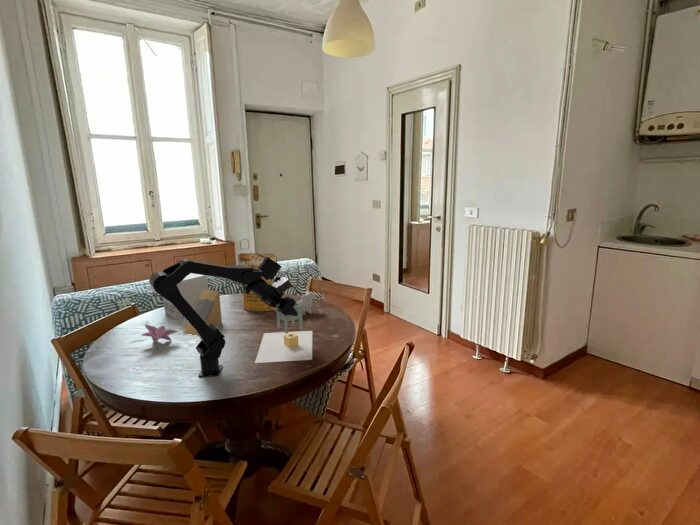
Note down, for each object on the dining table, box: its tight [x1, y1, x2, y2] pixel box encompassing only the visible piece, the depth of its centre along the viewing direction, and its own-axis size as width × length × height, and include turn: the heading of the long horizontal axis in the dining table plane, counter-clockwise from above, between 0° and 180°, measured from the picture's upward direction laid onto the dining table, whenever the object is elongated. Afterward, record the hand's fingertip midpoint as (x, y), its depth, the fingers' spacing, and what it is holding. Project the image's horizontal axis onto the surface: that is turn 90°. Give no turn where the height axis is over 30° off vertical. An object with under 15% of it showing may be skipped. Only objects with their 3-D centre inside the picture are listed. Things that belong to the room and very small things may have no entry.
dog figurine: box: [295, 290, 317, 314], centre depth 173 cm, size 5×13×11 cm, turn 133°
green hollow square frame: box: [275, 303, 304, 334], centre depth 138 cm, size 7×7×10 cm
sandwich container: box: [182, 289, 223, 337], centre depth 158 cm, size 9×15×15 cm, turn 161°
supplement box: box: [162, 273, 209, 320], centre depth 177 cm, size 17×13×18 cm
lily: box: [141, 324, 179, 350], centre depth 142 cm, size 12×12×10 cm
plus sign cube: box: [284, 333, 299, 348], centre depth 140 cm, size 4×4×4 cm
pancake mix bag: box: [237, 252, 278, 312], centre depth 178 cm, size 7×19×28 cm, turn 79°
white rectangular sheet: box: [254, 330, 313, 364], centre depth 141 cm, size 25×20×1 cm
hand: (292, 312), depth 139 cm, fingers closed on green hollow square frame, 7 cm apart
